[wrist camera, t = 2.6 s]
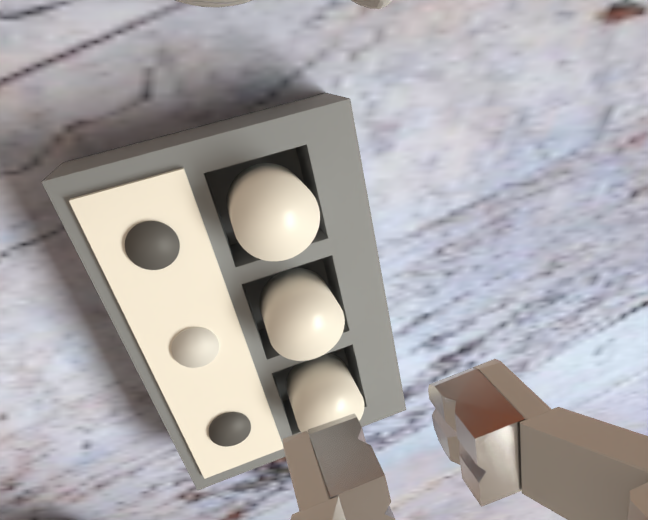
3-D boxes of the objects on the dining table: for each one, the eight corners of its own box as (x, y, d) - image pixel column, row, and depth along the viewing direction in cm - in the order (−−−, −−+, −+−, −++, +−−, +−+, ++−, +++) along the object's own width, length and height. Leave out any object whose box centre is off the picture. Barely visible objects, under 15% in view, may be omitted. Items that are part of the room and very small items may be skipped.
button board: (326, 93, 25) (353, 99, 21) (383, 373, 34) (408, 414, 30) (62, 162, 23) (38, 184, 19) (195, 442, 32) (197, 496, 28)
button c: (341, 344, 28) (357, 374, 26) (353, 393, 30) (369, 425, 28) (278, 366, 28) (288, 399, 25) (294, 415, 30) (305, 450, 27)
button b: (320, 258, 26) (336, 281, 23) (334, 317, 28) (351, 345, 25) (250, 281, 25) (258, 307, 23) (270, 340, 27) (279, 371, 24)
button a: (294, 153, 23) (309, 166, 20) (312, 226, 25) (327, 246, 22) (216, 175, 23) (220, 191, 20) (240, 248, 24) (247, 272, 22)
